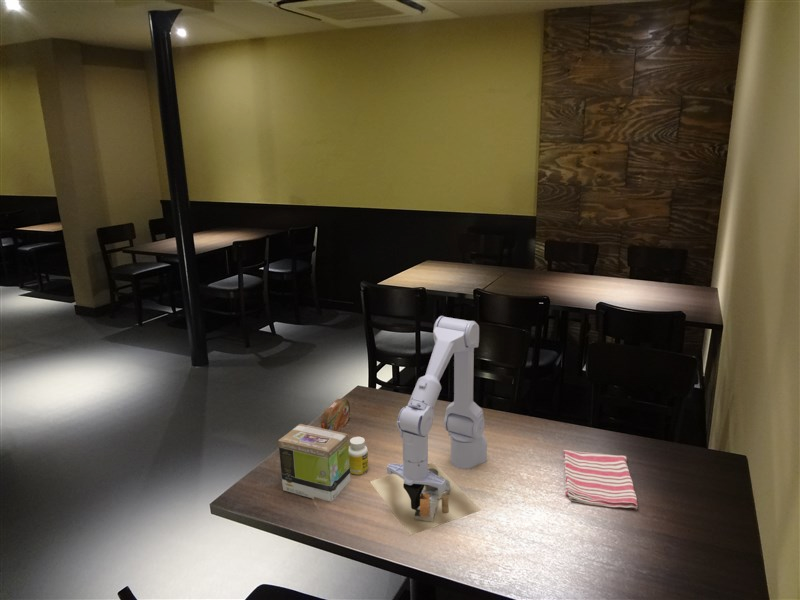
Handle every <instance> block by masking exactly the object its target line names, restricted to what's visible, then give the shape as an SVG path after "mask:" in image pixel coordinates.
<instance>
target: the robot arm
mask: <svg viewBox="0 0 800 600" xmlns="http://www.w3.org/2000/svg"><path fill="white" fill-rule="evenodd" d="M432 336H433V341H434V346H433V349H432V353H431V356H430V359H429V362H428V365H427V368H426V370H425V371H426V372H425V375H423V376H420V377H418V379H417V381H416V383H415V387H414V389H413V391H412V393H411V396H410V397H409V401H408V403H407V405H406V406H403V407H402V408H401V409H400V411H399V413H398V416H397V421H396V426H397V429H398V430H399V436H400V438H402V463H401V464H399V463H394V462H390V463H389V464H388V465H387V466H386V474H387V475H393V474H396V475H398V476H399V477H401V478H402V479H404V484H403V487H404V489H405V490H406V491H407V493H408V495H409V497H410V499H411V508H412V509H414V510H417V508H418V507H419V506H420V497H421V493H422V490H423V488H424V486H425V485H429V486H432V487H435V488H438V490H439V491H443V490H444V489H445V487H446V480H445V479H442V478H440V477H438V476H437V475H435V474H434V473H432V472H431V471H429V470H428V464H429V451H428V450H429V448H428V447H429V444H428V442H429V433H430V431H431V429H432V426H433V422H434V415H435V410H434V408H435V405H436V403H437V401H438V399H439V396H440V392H441V390H442V385H441V383H440V380H441V378H442V377H443V375H444V372H445V370H446V368H447V367H448V365H449V363H450V360H451V358H452V357H453V356H454V357H453V360H454V361H453V367H454V368H453V370H454V371H453V378H454V379H453V393H454V394H453V401H452V402H450V403H449V404H448V406H446V408H445V415H444V418H443V426H444V430H445V431H446V432H448V434H447V435H448V436H449V437H450V464H451V466H453V467H455V468H457V469H460V470H461V469H462V470H469V469H473V468H475V467H476V466H479V465H481V464H484V463H486V462H487V455H488V451H487V450H488V442H487V439H486V437H485V434H484V431H485V427H486V422H485V417H484V410H483V408H482V407H481V406H479V405H478V404H477V403H476V402H475V401H474V368H475V367H474V362H475V361H474V360H475V359H474V355H475V353H474V352H475V348H479V343H480V325H479V324H478V323H477V322H476V321H475V320H466V319H460V318H453V317H447V316H444V315H440V316H438V318H436V320H435V322H434V324H433V331H432Z"/></svg>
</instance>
